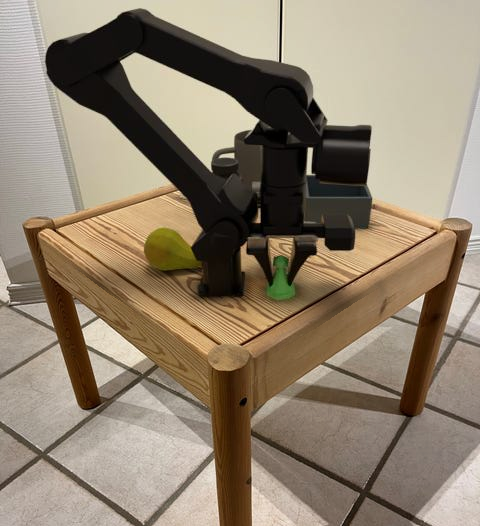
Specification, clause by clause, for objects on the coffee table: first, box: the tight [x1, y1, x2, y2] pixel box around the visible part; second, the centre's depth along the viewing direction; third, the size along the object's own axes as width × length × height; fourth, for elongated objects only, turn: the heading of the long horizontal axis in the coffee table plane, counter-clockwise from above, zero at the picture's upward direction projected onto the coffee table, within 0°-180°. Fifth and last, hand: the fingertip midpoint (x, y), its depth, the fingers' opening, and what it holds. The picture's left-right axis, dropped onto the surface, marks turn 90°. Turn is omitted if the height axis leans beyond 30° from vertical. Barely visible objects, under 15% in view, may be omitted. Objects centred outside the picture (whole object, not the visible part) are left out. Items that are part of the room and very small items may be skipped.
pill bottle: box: [210, 156, 243, 184], centre depth 90 cm, size 6×6×11 cm
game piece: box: [265, 254, 296, 301], centre depth 72 cm, size 4×4×6 cm
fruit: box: [143, 226, 202, 271], centre depth 79 cm, size 6×6×12 cm
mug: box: [211, 129, 261, 207], centre depth 97 cm, size 14×9×12 cm
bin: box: [304, 174, 373, 229], centre depth 93 cm, size 11×11×6 cm
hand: (280, 285), depth 73 cm, fingers closed on game piece, 2 cm apart
